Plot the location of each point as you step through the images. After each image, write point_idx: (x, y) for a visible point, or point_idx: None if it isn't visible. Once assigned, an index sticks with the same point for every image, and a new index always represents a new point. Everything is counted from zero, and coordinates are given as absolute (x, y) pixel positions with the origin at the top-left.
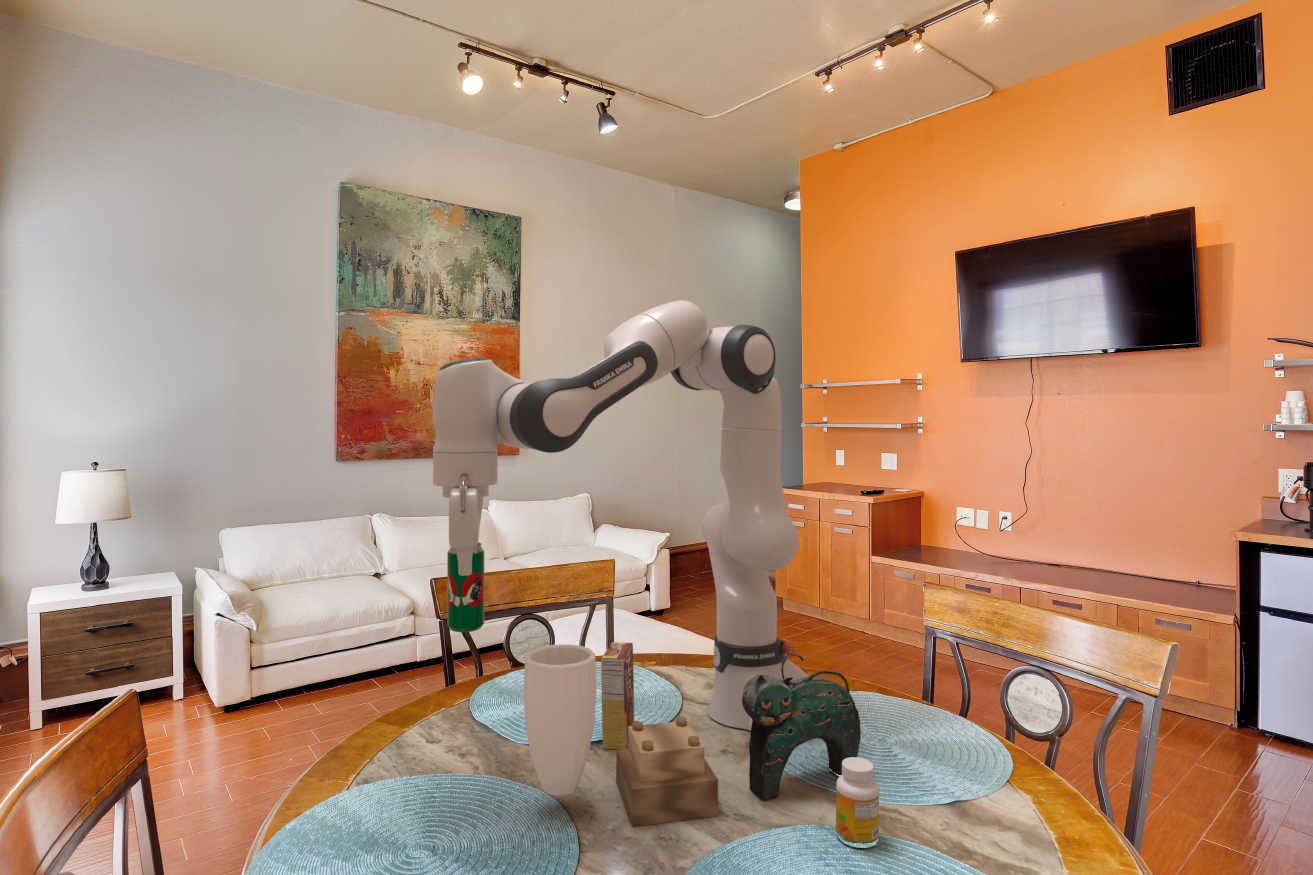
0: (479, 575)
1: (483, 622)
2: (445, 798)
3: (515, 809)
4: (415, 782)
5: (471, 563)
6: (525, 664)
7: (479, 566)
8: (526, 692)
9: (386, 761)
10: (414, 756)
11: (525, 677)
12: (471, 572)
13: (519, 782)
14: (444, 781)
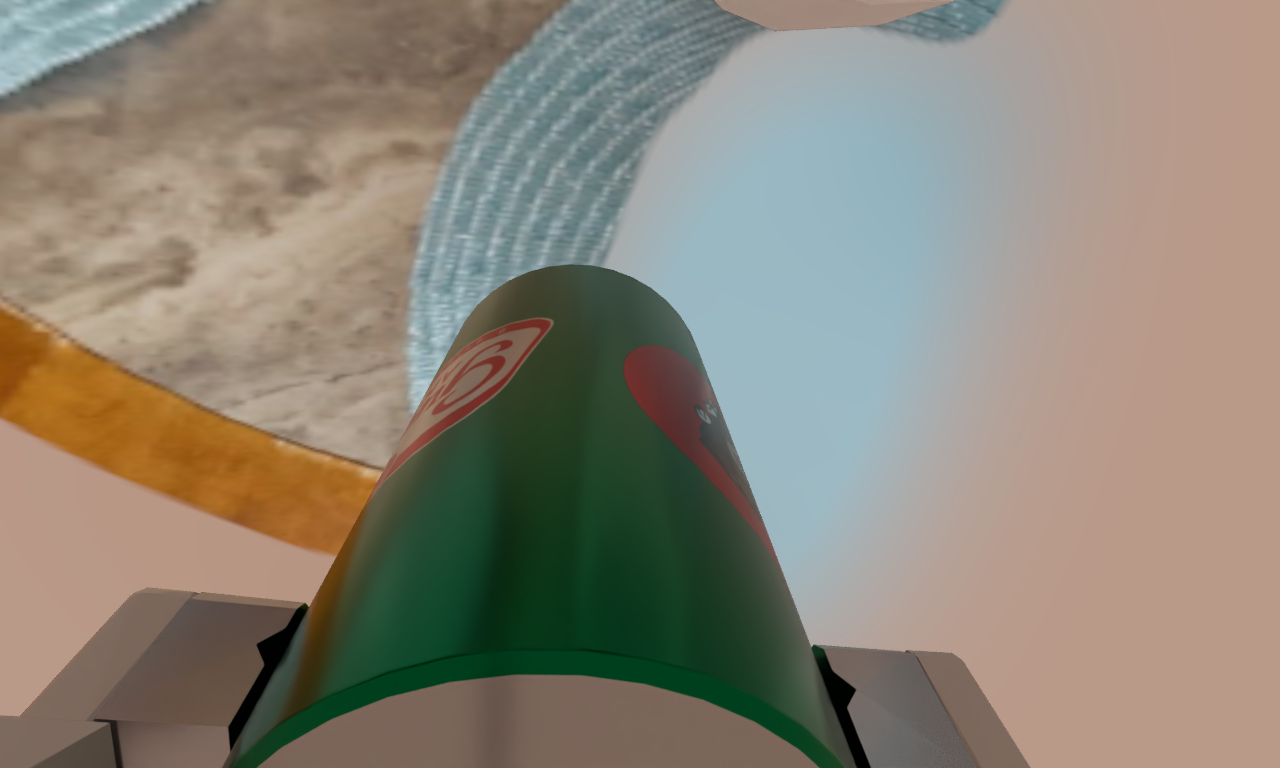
0: (738, 502)
1: (627, 278)
2: (568, 255)
3: (697, 72)
4: (452, 327)
5: (1021, 764)
6: (872, 8)
7: (771, 578)
8: (869, 23)
9: (300, 398)
10: (282, 325)
11: (862, 17)
12: (959, 661)
13: (542, 28)
14: (468, 251)
